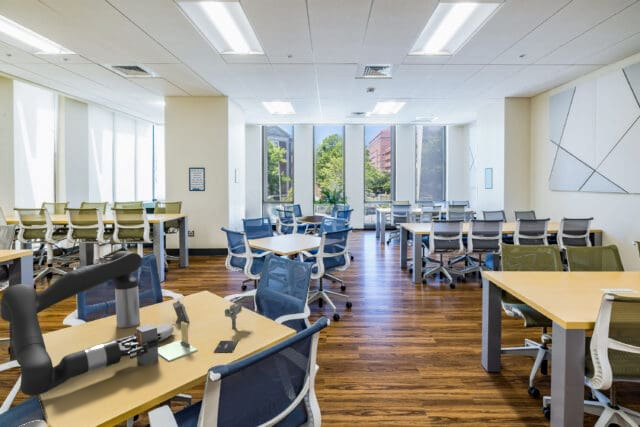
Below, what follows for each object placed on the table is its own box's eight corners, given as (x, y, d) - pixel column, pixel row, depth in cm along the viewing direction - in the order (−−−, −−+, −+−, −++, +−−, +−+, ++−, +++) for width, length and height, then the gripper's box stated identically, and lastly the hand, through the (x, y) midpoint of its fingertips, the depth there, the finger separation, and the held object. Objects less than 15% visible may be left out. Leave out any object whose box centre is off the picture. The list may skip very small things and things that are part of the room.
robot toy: (128, 347, 137) (166, 344, 137) (126, 336, 137) (164, 333, 137) (143, 334, 149) (178, 331, 149) (142, 324, 149) (177, 321, 149)
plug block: (136, 361, 124) (135, 328, 123) (151, 355, 128) (150, 323, 127) (143, 366, 120) (141, 332, 120) (158, 360, 124) (157, 327, 123)
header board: (152, 350, 132) (151, 326, 131) (180, 341, 140) (179, 317, 139) (168, 361, 123) (167, 335, 123) (197, 350, 132) (196, 326, 131)
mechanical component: (223, 332, 148) (223, 309, 148) (238, 323, 158) (237, 301, 157) (229, 333, 147) (229, 310, 147) (243, 324, 157) (243, 302, 156)
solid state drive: (213, 354, 130) (213, 352, 130) (220, 342, 140) (220, 340, 140) (232, 353, 130) (232, 351, 130) (238, 342, 140) (238, 340, 140)
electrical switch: (189, 322, 160) (186, 302, 159) (177, 325, 158) (174, 305, 157) (186, 316, 168) (183, 297, 167) (174, 319, 166) (171, 300, 165)
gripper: (108, 351, 108) (162, 334, 120) (93, 338, 117) (144, 324, 130) (109, 375, 109) (163, 355, 121) (94, 360, 118) (145, 343, 130)
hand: (153, 339), depth 125 cm, fingers open, 6 cm apart
